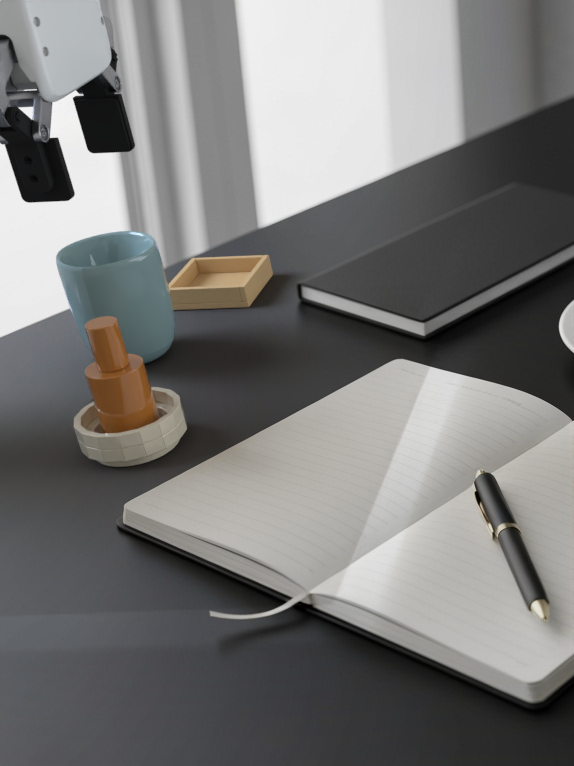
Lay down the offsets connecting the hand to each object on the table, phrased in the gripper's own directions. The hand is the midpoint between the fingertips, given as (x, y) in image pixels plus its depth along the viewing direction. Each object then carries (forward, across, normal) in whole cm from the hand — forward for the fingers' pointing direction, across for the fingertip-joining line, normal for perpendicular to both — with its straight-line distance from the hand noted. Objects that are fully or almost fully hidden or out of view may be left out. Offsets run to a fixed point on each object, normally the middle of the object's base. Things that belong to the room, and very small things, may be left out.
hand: (82, 174), depth 86 cm
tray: (+21, -28, -5) cm, 36 cm away
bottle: (+20, 0, -2) cm, 21 cm away
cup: (+21, -15, -8) cm, 27 cm away
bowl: (+21, 0, -2) cm, 21 cm away
